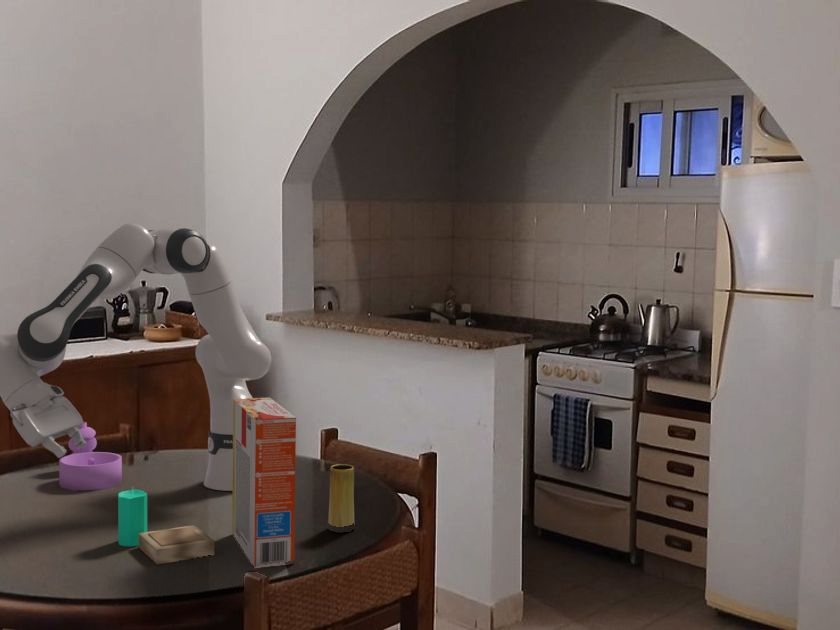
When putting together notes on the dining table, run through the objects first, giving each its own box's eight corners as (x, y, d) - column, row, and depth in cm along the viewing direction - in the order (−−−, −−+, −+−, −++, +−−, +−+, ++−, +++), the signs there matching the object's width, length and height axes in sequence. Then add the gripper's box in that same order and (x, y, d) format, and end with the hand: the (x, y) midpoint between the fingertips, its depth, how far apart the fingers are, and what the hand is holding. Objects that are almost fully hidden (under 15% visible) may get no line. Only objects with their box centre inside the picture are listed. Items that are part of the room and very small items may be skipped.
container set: (126, 487, 258) (126, 436, 257) (63, 493, 251) (63, 441, 250) (109, 465, 280) (109, 418, 279) (51, 470, 273) (50, 422, 272)
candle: (121, 537, 218) (121, 482, 217) (149, 537, 218) (149, 482, 217) (115, 546, 212) (115, 490, 211) (144, 546, 212) (144, 490, 211)
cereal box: (294, 564, 204) (296, 417, 201) (254, 568, 201) (255, 419, 198) (268, 531, 225) (269, 397, 222) (232, 534, 222) (233, 399, 219)
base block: (193, 538, 218) (194, 524, 218) (214, 554, 208) (214, 539, 208) (138, 547, 212) (138, 532, 212) (156, 564, 202) (156, 548, 201)
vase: (358, 527, 229) (360, 465, 228) (348, 535, 223) (349, 471, 222) (334, 524, 231) (335, 462, 230) (323, 531, 225) (324, 468, 224)
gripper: (17, 399, 205) (61, 450, 205) (63, 386, 226) (103, 433, 225) (-5, 418, 206) (39, 470, 206) (43, 404, 226) (83, 451, 226)
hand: (73, 451), depth 216 cm, fingers open, 8 cm apart
